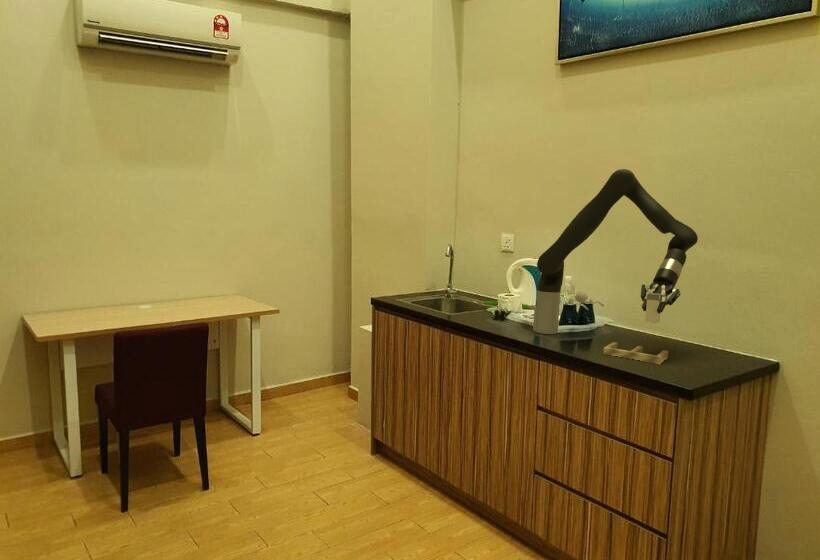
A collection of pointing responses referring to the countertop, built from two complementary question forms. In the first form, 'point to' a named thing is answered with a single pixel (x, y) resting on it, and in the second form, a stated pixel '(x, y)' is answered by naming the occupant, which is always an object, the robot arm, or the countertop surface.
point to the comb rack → (635, 354)
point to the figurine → (502, 311)
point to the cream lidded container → (653, 307)
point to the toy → (581, 298)
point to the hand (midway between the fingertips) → (651, 310)
